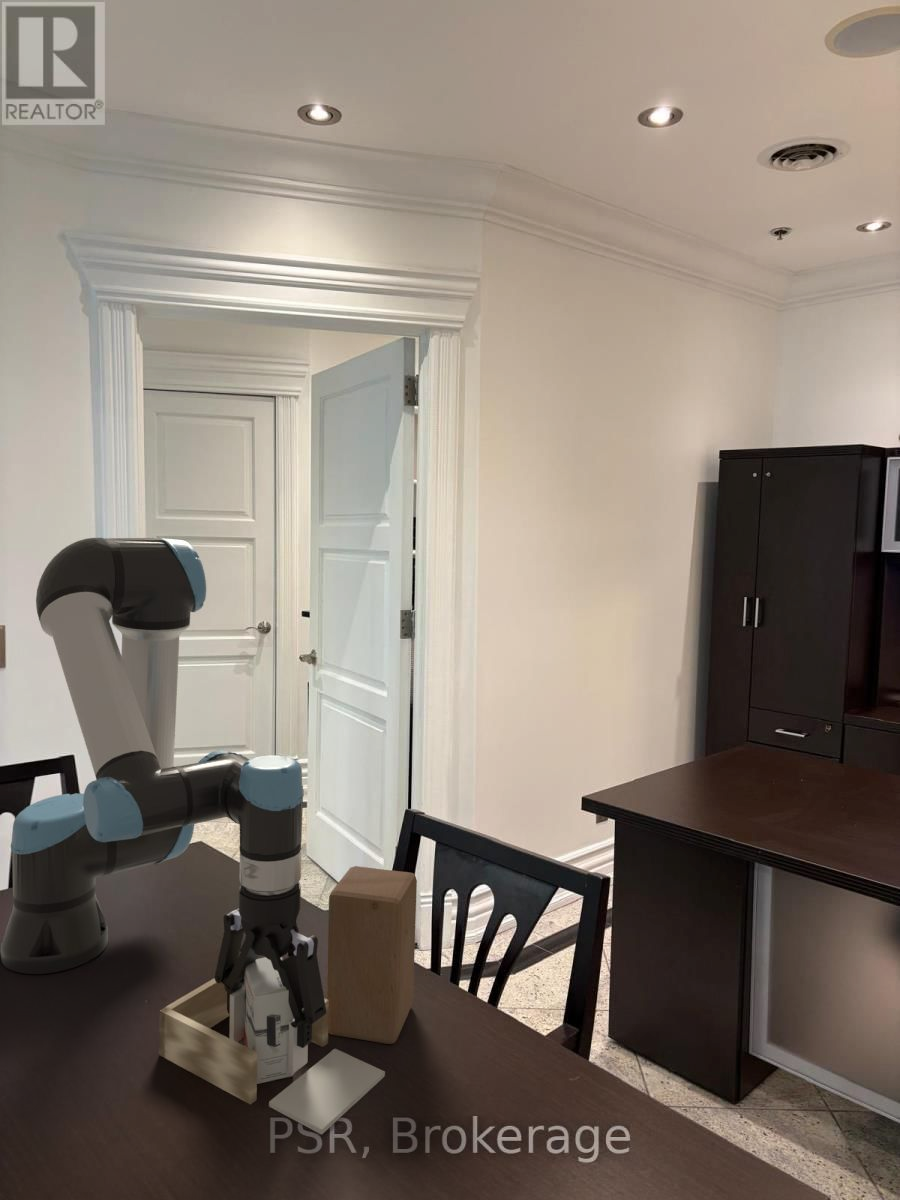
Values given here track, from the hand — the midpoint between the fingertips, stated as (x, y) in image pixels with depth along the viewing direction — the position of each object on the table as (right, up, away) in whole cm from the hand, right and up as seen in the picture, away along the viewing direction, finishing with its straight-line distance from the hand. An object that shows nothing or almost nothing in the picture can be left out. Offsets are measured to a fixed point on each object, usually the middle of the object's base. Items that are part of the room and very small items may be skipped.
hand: (267, 1052), depth 106 cm
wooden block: (+12, -1, +9) cm, 15 cm away
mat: (+8, -2, -5) cm, 10 cm away
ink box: (0, -1, 0) cm, 1 cm away
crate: (-3, -1, +2) cm, 4 cm away
